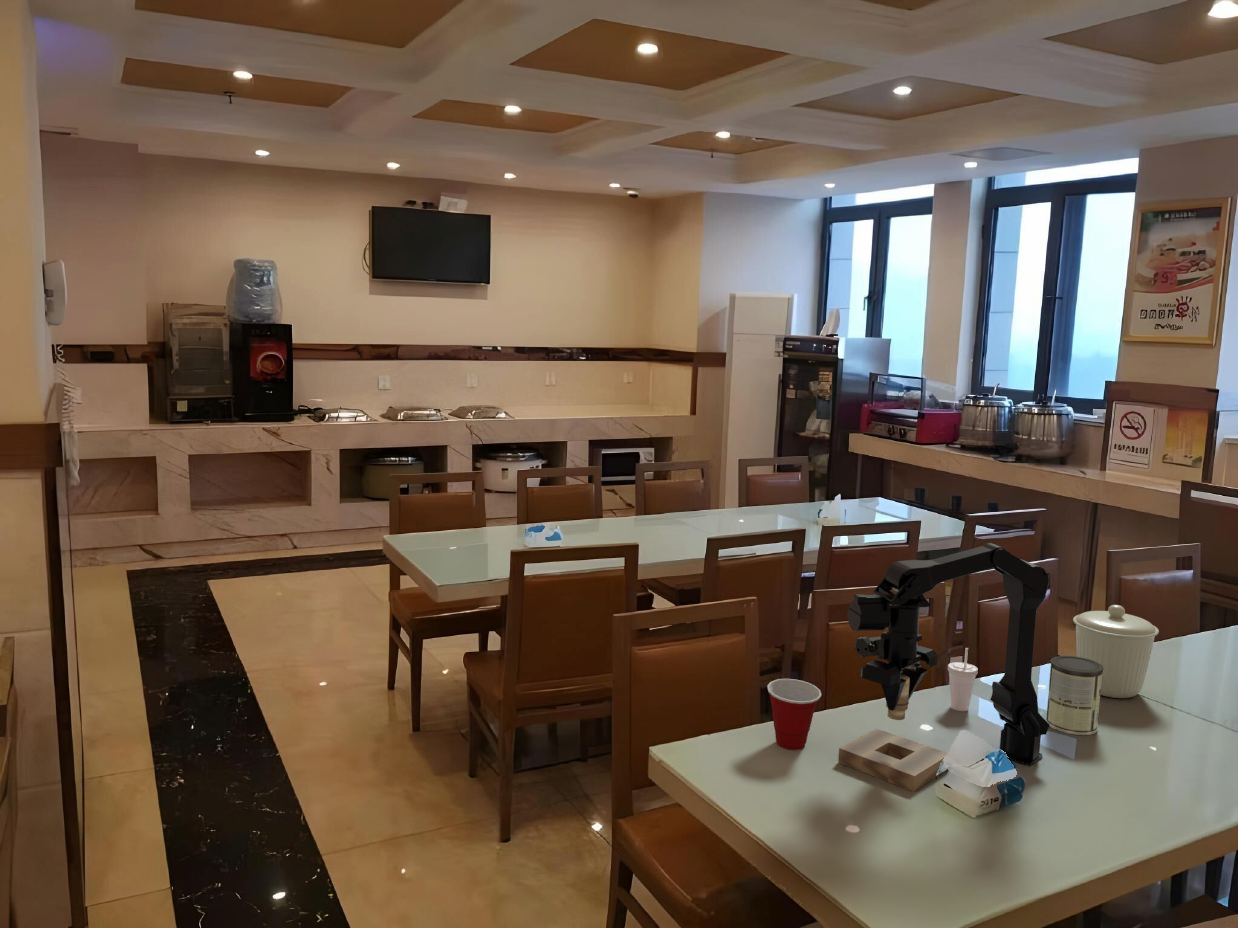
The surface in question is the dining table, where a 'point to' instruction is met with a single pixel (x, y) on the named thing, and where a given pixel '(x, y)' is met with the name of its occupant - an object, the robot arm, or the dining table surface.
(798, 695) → the plastic cup
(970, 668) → the smoothie
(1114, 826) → the dining table surface
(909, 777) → the board
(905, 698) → the peg
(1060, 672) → the coffee can
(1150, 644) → the canister
